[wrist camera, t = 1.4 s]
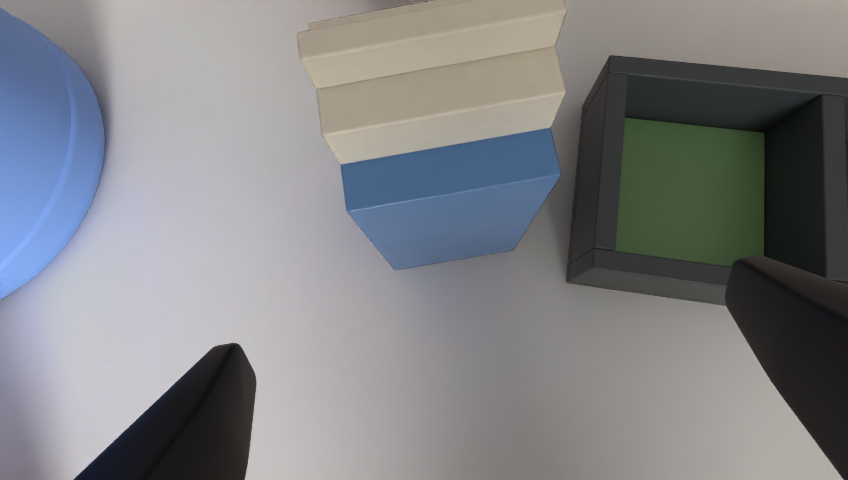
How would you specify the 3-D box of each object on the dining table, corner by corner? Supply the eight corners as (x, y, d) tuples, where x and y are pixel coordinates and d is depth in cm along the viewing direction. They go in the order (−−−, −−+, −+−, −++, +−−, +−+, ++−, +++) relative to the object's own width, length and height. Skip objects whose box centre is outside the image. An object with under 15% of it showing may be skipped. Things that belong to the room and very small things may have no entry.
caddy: (976, 342, 19) (1113, 341, 15) (565, 283, 21) (591, 268, 17) (959, 145, 21) (1078, 99, 17) (582, 105, 23) (609, 54, 19)
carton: (514, 250, 21) (598, 120, 9) (394, 270, 22) (310, 170, 9) (491, 138, 23) (536, -113, 10) (377, 158, 23) (284, -65, 10)
